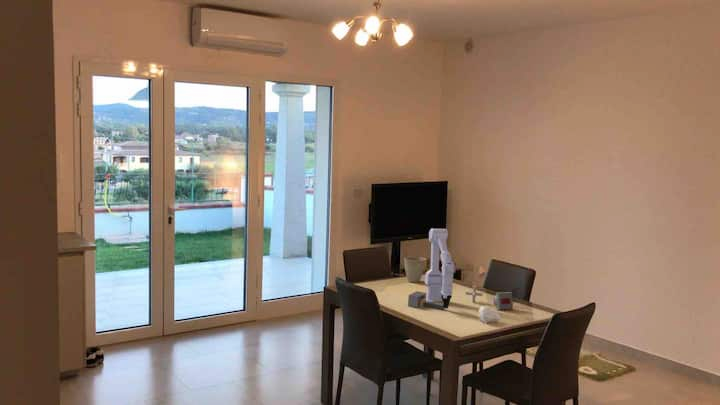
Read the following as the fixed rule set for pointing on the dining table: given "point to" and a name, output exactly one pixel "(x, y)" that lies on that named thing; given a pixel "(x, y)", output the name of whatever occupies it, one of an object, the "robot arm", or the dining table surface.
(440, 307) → the plug
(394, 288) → the dining table surface
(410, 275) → the plant pot
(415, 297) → the housing
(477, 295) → the toy jack
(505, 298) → the voltmeter
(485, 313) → the white lumpy piece
